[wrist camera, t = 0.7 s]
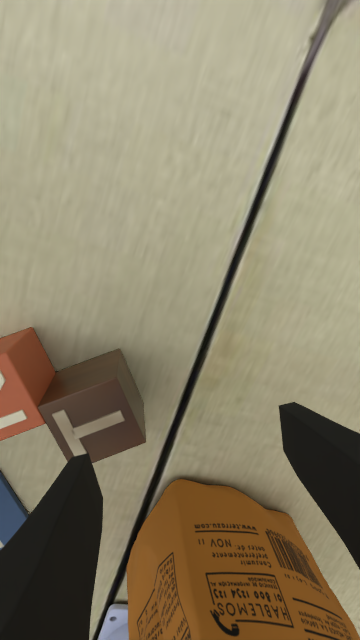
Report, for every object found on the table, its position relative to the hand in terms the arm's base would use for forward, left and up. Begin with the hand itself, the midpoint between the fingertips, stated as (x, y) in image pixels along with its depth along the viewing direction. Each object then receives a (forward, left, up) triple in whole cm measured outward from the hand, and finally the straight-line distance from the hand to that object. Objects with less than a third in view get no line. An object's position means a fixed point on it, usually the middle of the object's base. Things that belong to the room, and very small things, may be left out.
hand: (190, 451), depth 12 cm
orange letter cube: (-3, +8, -8) cm, 12 cm away
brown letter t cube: (-3, +3, -8) cm, 9 cm away
